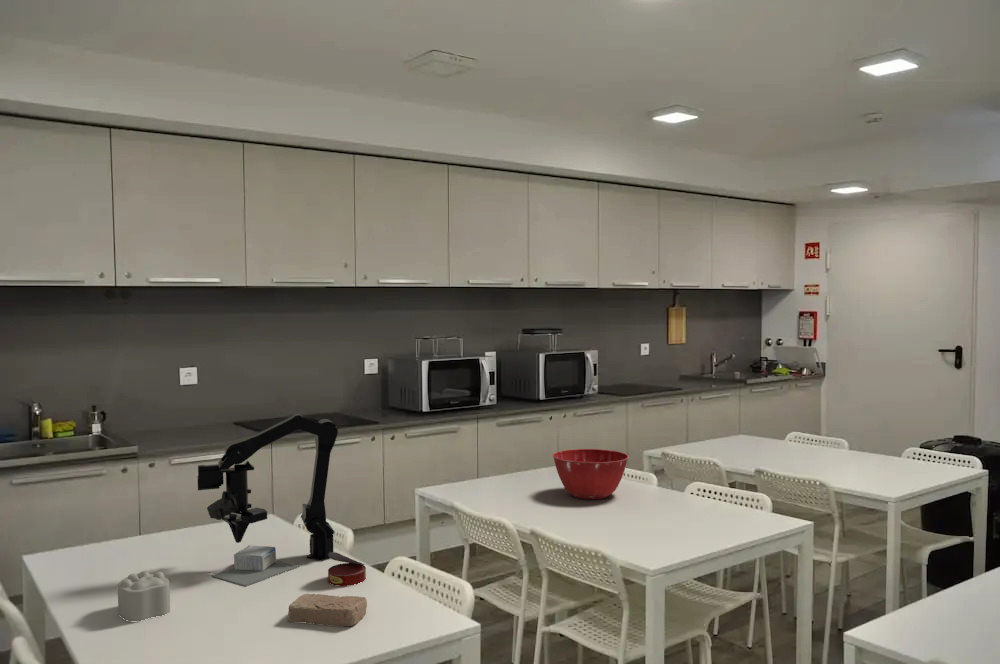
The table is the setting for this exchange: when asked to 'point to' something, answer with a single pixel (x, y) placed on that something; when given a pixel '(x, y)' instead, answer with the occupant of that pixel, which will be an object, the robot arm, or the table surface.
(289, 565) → the mat
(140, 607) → the lumpy-topped squat cylinder
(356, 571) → the canned food
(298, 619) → the brick
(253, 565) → the medicine box
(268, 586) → the table surface
